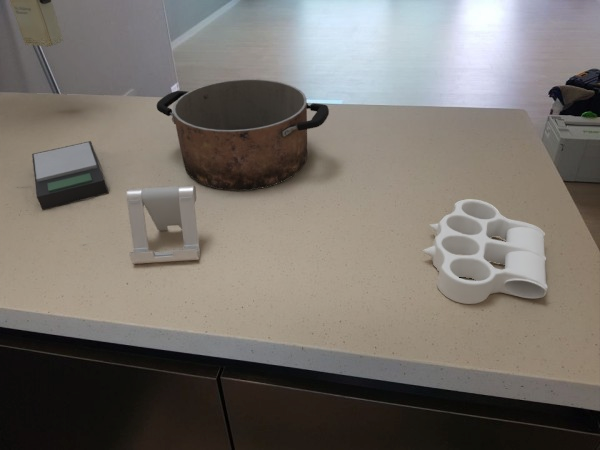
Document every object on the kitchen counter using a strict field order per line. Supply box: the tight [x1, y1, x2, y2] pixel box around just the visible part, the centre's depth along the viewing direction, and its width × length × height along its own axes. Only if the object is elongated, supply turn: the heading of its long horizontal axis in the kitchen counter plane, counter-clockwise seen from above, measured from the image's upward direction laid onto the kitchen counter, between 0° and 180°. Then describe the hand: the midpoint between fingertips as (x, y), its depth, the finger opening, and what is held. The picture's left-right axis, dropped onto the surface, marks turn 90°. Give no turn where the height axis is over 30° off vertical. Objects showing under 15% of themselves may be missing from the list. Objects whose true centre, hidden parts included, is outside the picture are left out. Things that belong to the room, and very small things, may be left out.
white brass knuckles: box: [421, 198, 549, 305], centre depth 59 cm, size 3×18×15 cm
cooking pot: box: [156, 78, 330, 191], centre depth 80 cm, size 30×22×11 cm
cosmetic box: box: [9, 0, 64, 47], centre depth 89 cm, size 6×4×12 cm
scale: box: [31, 140, 109, 211], centre depth 78 cm, size 16×10×3 cm, turn 28°
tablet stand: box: [125, 185, 201, 265], centre depth 61 cm, size 9×8×8 cm
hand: (31, 1), depth 88 cm, fingers closed on cosmetic box, 6 cm apart
